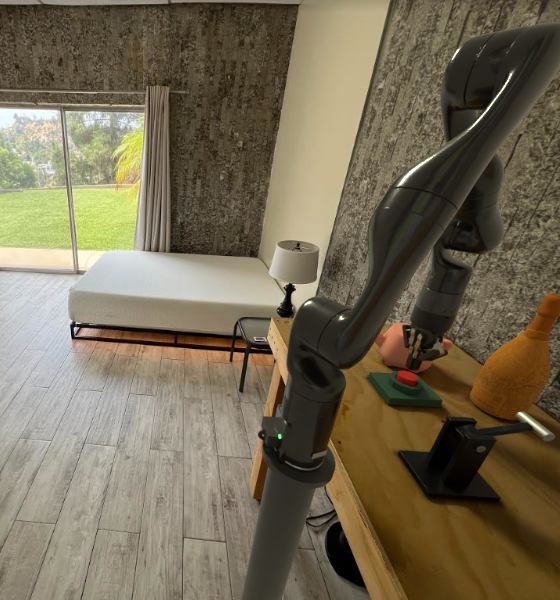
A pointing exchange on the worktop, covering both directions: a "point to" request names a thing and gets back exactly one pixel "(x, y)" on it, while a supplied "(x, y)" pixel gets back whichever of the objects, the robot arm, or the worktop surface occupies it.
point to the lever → (507, 429)
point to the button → (407, 378)
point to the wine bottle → (518, 367)
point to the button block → (403, 391)
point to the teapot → (400, 348)
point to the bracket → (453, 464)
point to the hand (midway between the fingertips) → (411, 368)
